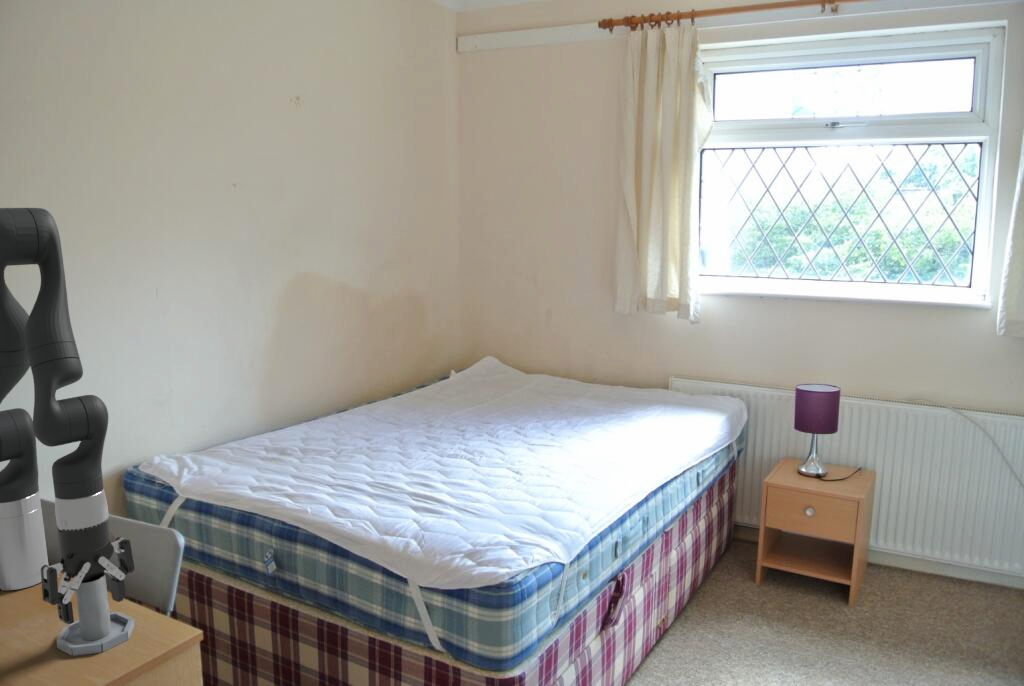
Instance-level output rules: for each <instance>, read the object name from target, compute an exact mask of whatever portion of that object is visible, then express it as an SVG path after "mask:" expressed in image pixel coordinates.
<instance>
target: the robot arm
mask: <svg viewBox="0 0 1024 686" xmlns="http://www.w3.org/2000/svg"><path fill="white" fill-rule="evenodd" d="M61 242H62V241H61V237H60V232H59V228H58V225H57V222H56V219H55V218H54V216H53V215H52V214H51V213H50V212H49V211H48V210H47V209H45V208H42V207H0V405H1V404H2V402H3V400H5V398H6V397H7V396H8V394H9V393H11V391H12V390H13V389H14V388H15V386H17V385H18V383H19V382H20V381H21V380H22V379H23V377H25V375H26V373H27V372H28V371H29V369H30V370H31V374H32V378H33V390H34V391H33V392H34V394H33V395H34V401H33V402H34V403H33V404H34V406H33V414H32V415H33V416H32V417H31V414H30V413H29V412H28V411H27V410H26V409H24V408H21V407H20V408H19V407H17V408H10V409H4V410H0V463H1V462H6V461H9V462H8V463H7V465H6V466H5V467H4V468H3V469H1V470H0V589H1V590H0V591H14V590H15V591H18V590H21V589H26V588H29V587H33V586H36V585H37V584H40V583H41V595H42V596H41V598H42V601H44V602H45V603H49V604H50V605H51V606H54V605H55V606H56V607H57V613H58V619H59V620H60V621H62V622H63V623H65V624H67V625H69V624H71V623H74V622H75V619H74V610H73V602H72V601H71V599H72V597H73V595H74V593H75V592H76V590H77V589H78V588H79V586H80V584H81V582H82V581H83V582H85V581H87V580H89V579H91V578H92V577H96V576H100V575H102V573H103V572H105V574H107V575H109V576H110V577H111V578H110V579H109V583H110V592H111V598H112V600H113V601H115V602H117V603H120V602H122V601H124V597H125V596H126V587H125V585H126V584H125V578H126V575H128V574H131V573H133V572H134V571H135V563H134V557H133V551H132V545H131V541H130V539H127V538H124V537H121V536H118V537H116V538H115V540H114V541H111V540H112V536H111V535H112V534H111V533H112V532H111V524H110V517H109V516H110V515H109V507H108V506H109V505H108V499H107V497H106V496H107V495H106V492H105V488H104V480H103V469H102V468H103V467H102V462H103V452H104V446H105V442H106V437H107V433H108V428H109V427H108V426H109V425H108V424H109V411H108V408H107V406H106V404H105V402H104V401H103V399H101V397H98V396H97V395H94V394H85V395H79V396H73V397H68V398H63V399H56V392H57V390H60V389H61V388H64V387H67V386H70V385H73V384H74V383H77V382H78V381H80V380H81V379H82V378H83V375H84V368H83V364H82V361H81V358H80V357H81V356H80V354H79V351H78V350H79V349H78V346H77V343H76V339H75V336H74V332H73V327H72V323H71V319H70V318H71V317H70V311H69V303H68V302H69V300H68V292H67V281H66V274H65V273H66V272H65V267H64V265H65V264H64V258H63V253H62V252H63V251H62V250H63V249H62V243H61ZM25 265H26V266H27V265H28V266H29V265H37V267H38V268H39V274H40V287H39V290H38V294H37V297H36V300H35V302H34V304H33V308H32V309H31V312H30V313H28V312H27V311H26V309H25V308H24V307H23V306H22V305H21V304H20V302H19V301H18V300H17V299H16V298H15V296H14V295H13V293H12V292H11V290H10V288H9V287H8V285H7V284H6V279H5V270H6V268H7V267H9V266H10V267H11V266H25ZM37 440H38V441H39V443H41V444H42V445H44V446H47V447H51V448H52V447H53V448H54V447H59V446H63V445H67V444H72V443H78V442H79V444H78V447H77V448H76V449H75V450H73V451H71V452H70V453H67V454H66V455H63V456H62V457H59V458H58V459H56V460H55V461H54V462H53V463H52V466H51V473H52V474H51V475H52V483H53V489H54V500H55V501H54V516H55V521H56V523H55V524H56V529H57V539H58V546H59V551H60V555H61V556H60V557H61V558H60V561H59V562H58V563H54V564H52V565H49V559H48V551H47V542H46V535H45V526H44V519H43V512H42V511H43V508H42V504H41V503H42V502H41V495H40V488H39V466H38V456H37V455H38V453H37V451H38V450H37ZM114 552H115V553H116V555H117V561H118V567H117V566H116V565H115V564H114V563H112V562H111V561H110V560H111V558H112V556H113V554H114ZM62 571H63V572H64V573H63V575H62V577H61V576H60V575H61V572H62ZM60 577H61V579H60V581H59V584H58V578H60ZM71 579H72V581H71ZM58 585H59V586H58Z"/></svg>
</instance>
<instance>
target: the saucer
mask: <svg viewBox="0 0 1024 686" xmlns="http://www.w3.org/2000/svg"><path fill="white" fill-rule="evenodd" d="M110 622H111V632H110V633H109V634H108V635H107V636H105V637H103V638H101V639H97V640H84V639H82V638H81V632H80V624H79V619H77V620H76V621H75V620H74V623H71V624H67V625H65V626H64V627H63V628H62V629H61V631H60V633H59V635H58V636H57V638H56V640H55V641H56V647H57V649H59V650H60V651H62V652H64V653H66V654H67V655H70V656H71V657H75V656H83V655H92V654H99V653H104V652H106V651H108V650H110V649H112V648H114V647H116V646H118V645H121V644H122V643H124V642H126V641H128V640H129V639H130V637H131V634H132V632H133V630H134V628H135V619H134V618H133V617H131V616H129V615H127V614H125V613H122V612H120V611H112V612H110Z"/></svg>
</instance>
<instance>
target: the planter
mask: <svg viewBox="0 0 1024 686" xmlns="http://www.w3.org/2000/svg"><path fill="white" fill-rule="evenodd" d="M107 585H108V584H107V578H106V572H105V571H104V572H103V573H102V575H100V576H96V577H92V578H91V579H89V580H87V581H85V582H83V581H82V582H81V584H80V586H79V588H78V589H77V590H75V596H76V603H77V604H76V605H77V614H78V620H79V624H80V632H81V638H82V639H84V640H97V639H101V638H103V637H105V636H107V635H108V634H109V633H110V632H111V622H110V613H111V612H110V605H109V597H108V587H107Z"/></svg>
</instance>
